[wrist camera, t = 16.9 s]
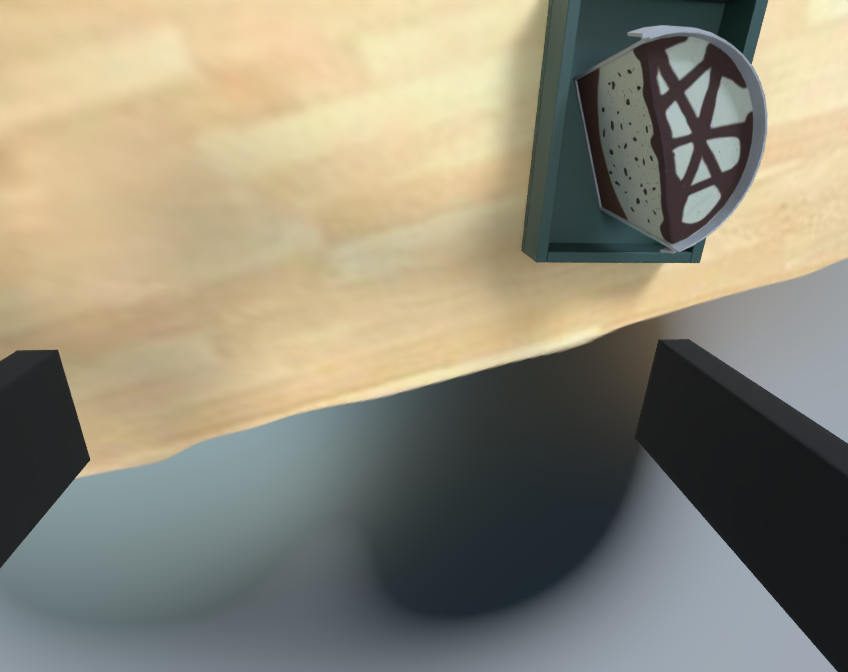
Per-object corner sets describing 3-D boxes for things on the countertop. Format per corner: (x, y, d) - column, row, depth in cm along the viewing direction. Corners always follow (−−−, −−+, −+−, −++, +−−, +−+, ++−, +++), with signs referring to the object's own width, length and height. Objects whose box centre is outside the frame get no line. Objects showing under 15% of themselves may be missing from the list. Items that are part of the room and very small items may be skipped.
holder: (521, 250, 38) (536, 262, 34) (551, -21, 31) (573, -39, 28) (671, 251, 39) (699, 263, 36) (733, -9, 32) (774, -24, 29)
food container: (679, 198, 37) (782, 222, 28) (602, 228, 37) (680, 260, 28) (656, 18, 32) (773, -25, 23) (568, 54, 32) (648, 24, 23)
